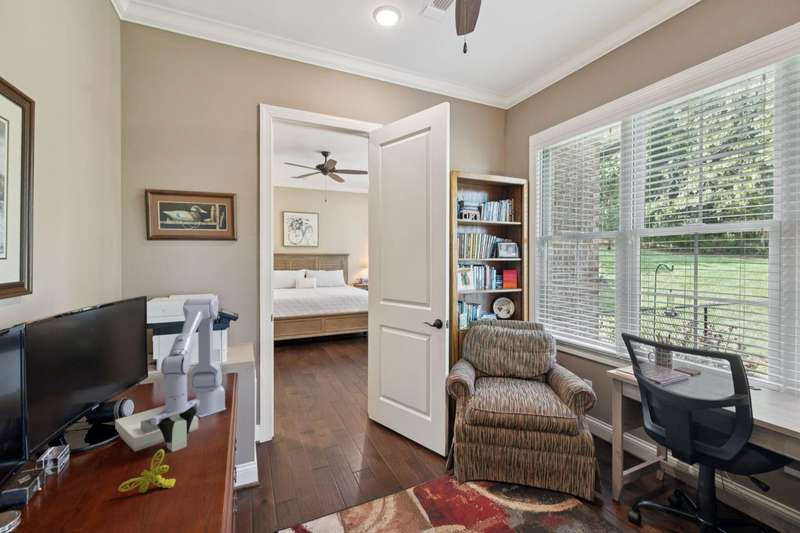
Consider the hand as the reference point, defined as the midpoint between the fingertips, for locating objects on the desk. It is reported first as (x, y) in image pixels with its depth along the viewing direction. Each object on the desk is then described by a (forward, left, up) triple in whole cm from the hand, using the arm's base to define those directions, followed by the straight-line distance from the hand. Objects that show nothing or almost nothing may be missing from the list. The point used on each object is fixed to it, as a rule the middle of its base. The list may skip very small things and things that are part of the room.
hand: (176, 437), depth 110 cm
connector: (0, 0, -3) cm, 3 cm away
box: (0, -17, -3) cm, 17 cm away
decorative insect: (+13, +17, -3) cm, 21 cm away
